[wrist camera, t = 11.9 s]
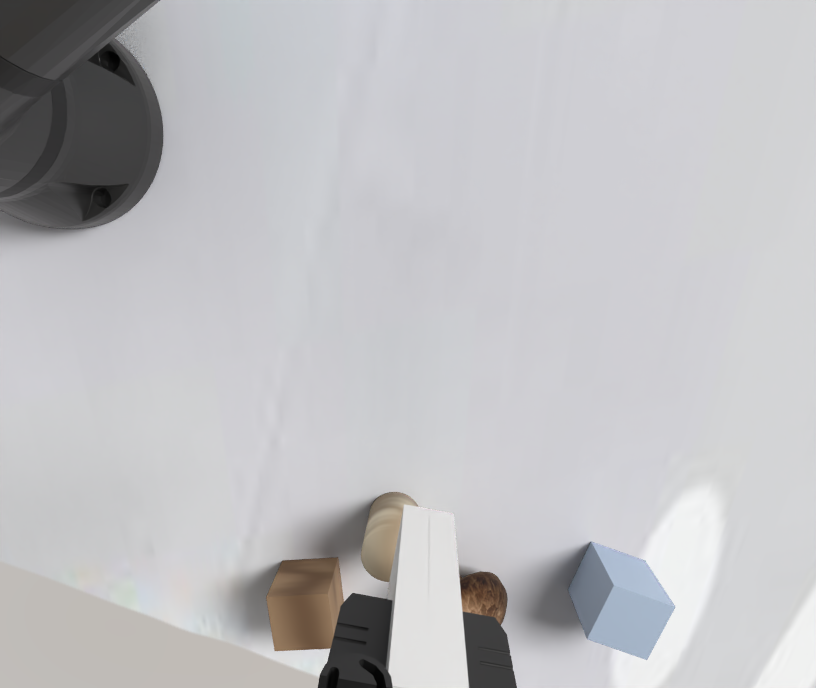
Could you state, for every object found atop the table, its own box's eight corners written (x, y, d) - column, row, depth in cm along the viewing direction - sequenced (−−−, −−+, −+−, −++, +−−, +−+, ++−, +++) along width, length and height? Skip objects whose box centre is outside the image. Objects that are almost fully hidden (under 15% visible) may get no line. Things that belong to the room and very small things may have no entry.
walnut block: (290, 609, 50) (274, 651, 45) (282, 559, 49) (266, 597, 44) (344, 606, 49) (335, 648, 44) (338, 556, 48) (327, 593, 43)
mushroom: (391, 579, 45) (430, 647, 40) (471, 527, 47) (517, 586, 42) (410, 621, 50) (446, 686, 45) (482, 572, 52) (523, 630, 47)
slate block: (567, 589, 48) (586, 639, 42) (590, 541, 47) (613, 585, 41) (620, 607, 48) (647, 659, 42) (644, 560, 47) (675, 606, 41)
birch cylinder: (365, 533, 48) (356, 576, 42) (373, 487, 47) (365, 524, 41) (415, 542, 48) (413, 586, 42) (424, 497, 47) (423, 535, 41)
